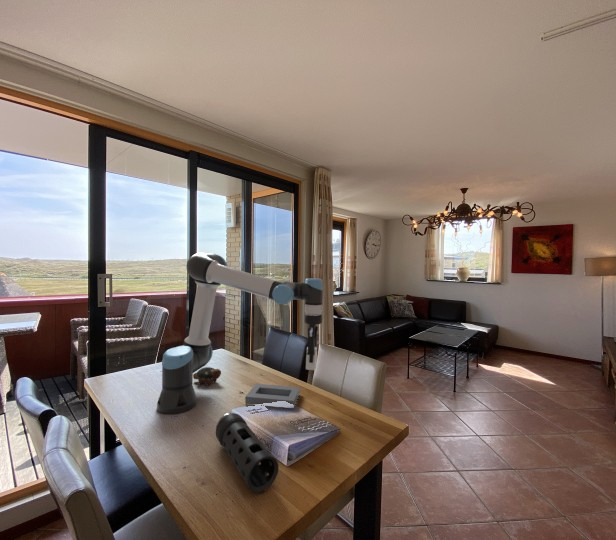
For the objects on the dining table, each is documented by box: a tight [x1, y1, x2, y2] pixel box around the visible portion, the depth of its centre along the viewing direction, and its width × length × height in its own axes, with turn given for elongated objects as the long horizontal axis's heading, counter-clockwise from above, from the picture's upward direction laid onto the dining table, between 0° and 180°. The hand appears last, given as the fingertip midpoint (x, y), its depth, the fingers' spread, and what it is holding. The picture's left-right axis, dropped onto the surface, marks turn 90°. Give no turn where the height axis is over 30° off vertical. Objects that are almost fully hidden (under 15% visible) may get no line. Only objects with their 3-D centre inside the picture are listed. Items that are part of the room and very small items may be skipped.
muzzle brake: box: [215, 412, 279, 494], centre depth 89 cm, size 10×28×10 cm, turn 34°
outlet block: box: [244, 383, 301, 406], centre depth 132 cm, size 21×14×4 cm, turn 82°
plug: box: [305, 346, 318, 370], centre depth 129 cm, size 4×4×9 cm
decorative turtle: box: [193, 366, 222, 387], centre depth 148 cm, size 10×15×8 cm, turn 80°
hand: (312, 367), depth 129 cm, fingers closed on plug, 4 cm apart
